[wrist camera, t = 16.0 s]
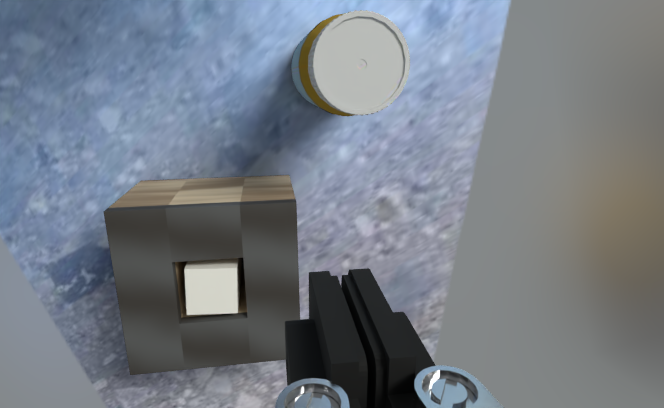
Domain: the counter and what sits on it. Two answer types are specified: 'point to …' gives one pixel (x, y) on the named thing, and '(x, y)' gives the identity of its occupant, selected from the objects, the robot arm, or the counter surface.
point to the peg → (213, 286)
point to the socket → (204, 244)
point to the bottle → (352, 64)
